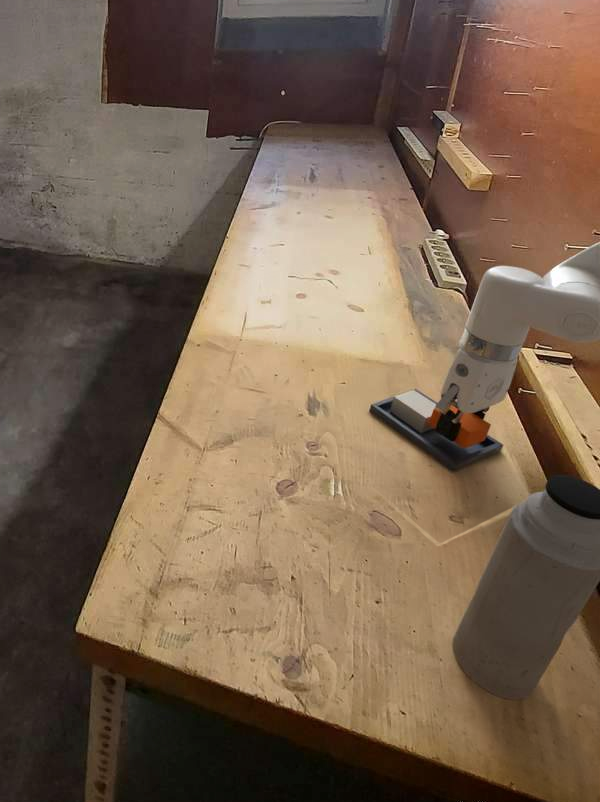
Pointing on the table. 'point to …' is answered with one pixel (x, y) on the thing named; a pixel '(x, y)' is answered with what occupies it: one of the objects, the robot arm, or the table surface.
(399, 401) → the grey pad
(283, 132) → the table surface
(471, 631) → the thermos bottle
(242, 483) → the table surface
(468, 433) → the orange pad
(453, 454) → the tray
